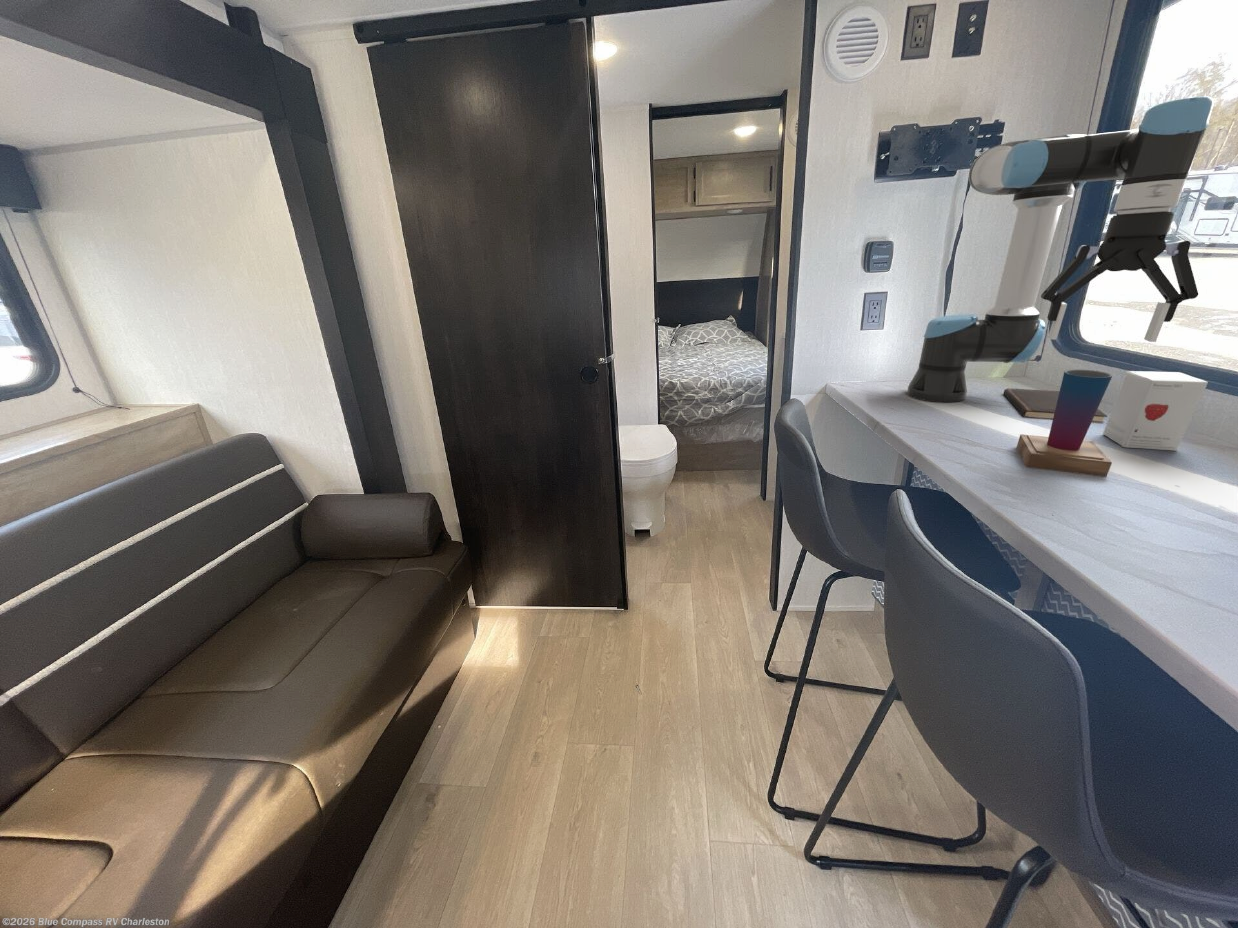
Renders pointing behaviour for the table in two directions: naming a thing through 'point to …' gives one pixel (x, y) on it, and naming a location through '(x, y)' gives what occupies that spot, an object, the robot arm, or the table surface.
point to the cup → (1076, 407)
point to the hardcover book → (1038, 403)
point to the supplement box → (1154, 409)
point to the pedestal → (1063, 456)
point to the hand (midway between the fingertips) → (1099, 339)
